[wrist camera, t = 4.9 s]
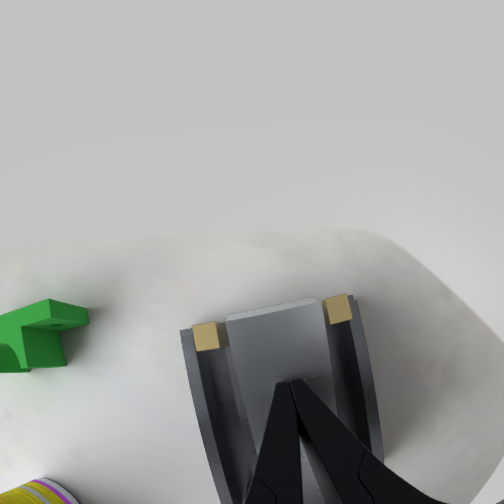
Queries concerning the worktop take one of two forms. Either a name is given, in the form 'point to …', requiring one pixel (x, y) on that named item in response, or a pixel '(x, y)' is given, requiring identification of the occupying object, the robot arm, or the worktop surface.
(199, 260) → the worktop surface
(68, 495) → the supplement bottle
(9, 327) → the pipe clamp
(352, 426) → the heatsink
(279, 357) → the silver metal bar
